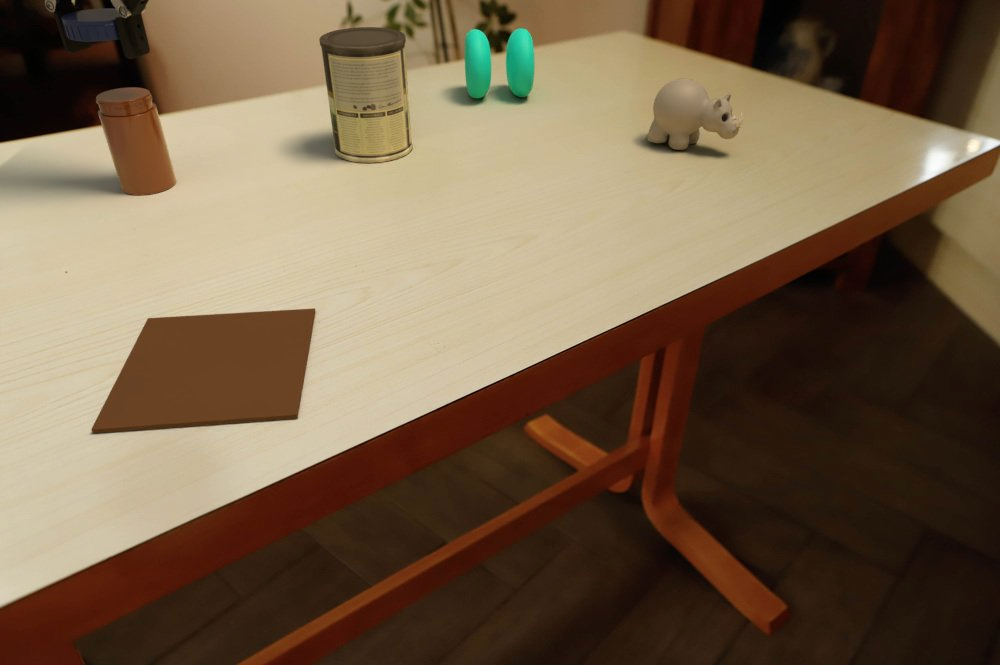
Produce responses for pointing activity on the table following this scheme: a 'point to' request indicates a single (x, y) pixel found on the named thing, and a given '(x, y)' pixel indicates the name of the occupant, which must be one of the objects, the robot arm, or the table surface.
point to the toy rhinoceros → (690, 114)
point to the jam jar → (136, 140)
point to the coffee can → (367, 93)
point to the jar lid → (91, 25)
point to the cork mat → (211, 371)
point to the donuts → (516, 63)
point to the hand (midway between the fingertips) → (108, 51)
